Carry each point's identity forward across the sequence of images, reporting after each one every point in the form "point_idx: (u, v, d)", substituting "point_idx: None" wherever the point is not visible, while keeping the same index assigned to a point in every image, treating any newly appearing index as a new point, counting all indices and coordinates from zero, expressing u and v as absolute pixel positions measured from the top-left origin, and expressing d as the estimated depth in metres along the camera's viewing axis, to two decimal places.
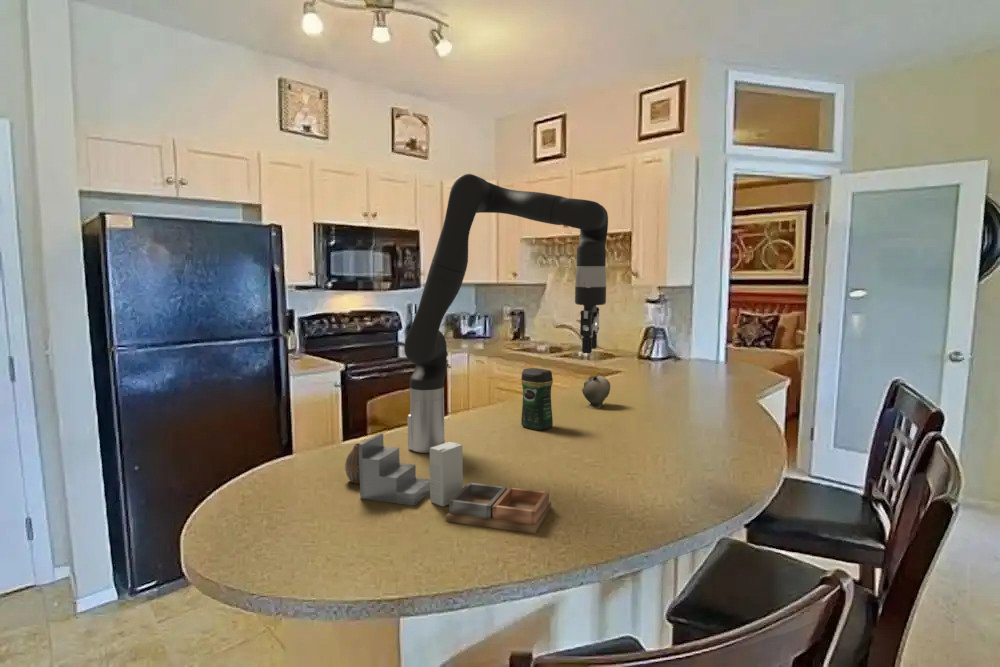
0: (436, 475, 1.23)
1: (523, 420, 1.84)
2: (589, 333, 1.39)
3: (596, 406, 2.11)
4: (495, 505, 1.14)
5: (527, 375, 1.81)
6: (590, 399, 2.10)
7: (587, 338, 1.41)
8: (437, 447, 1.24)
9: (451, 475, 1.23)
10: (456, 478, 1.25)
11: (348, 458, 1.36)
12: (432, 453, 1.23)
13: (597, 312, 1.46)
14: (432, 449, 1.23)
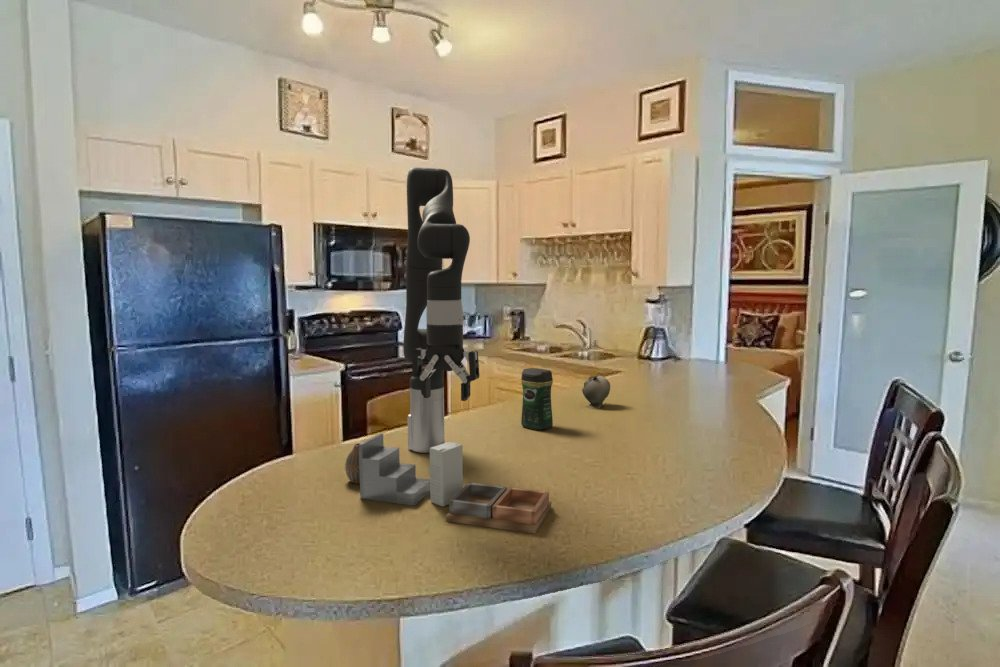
0: (436, 475, 1.23)
1: (523, 420, 1.84)
2: (478, 376, 1.22)
3: (596, 406, 2.11)
4: (495, 505, 1.14)
5: (527, 375, 1.81)
6: (590, 399, 2.10)
7: (469, 382, 1.22)
8: (437, 447, 1.24)
9: (451, 475, 1.23)
10: (456, 478, 1.25)
11: (348, 458, 1.36)
12: (432, 453, 1.23)
13: None
14: (432, 449, 1.23)
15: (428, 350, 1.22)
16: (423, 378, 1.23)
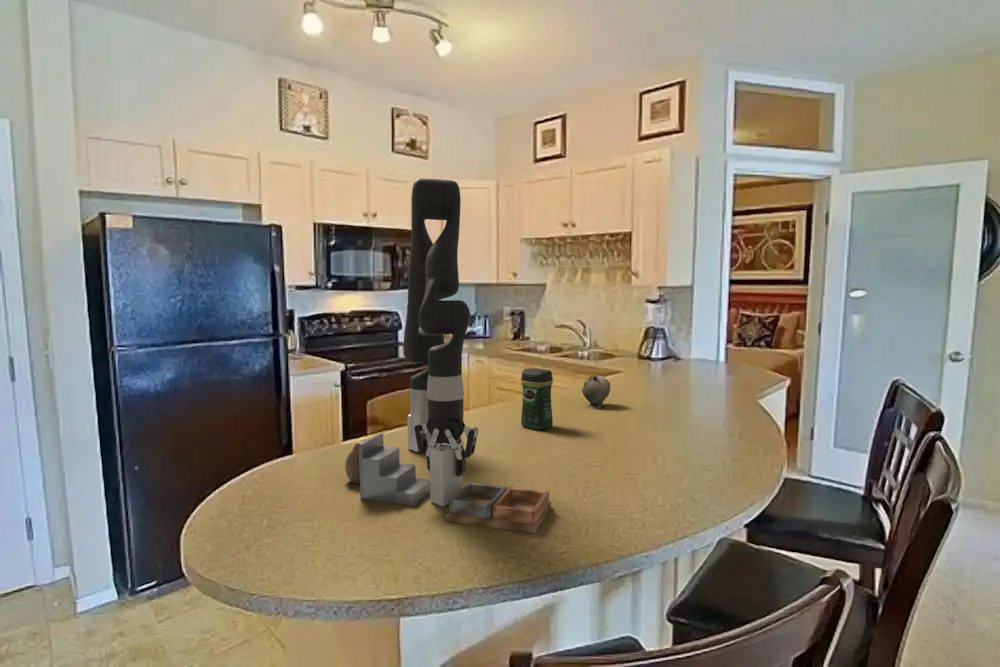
0: (436, 475, 1.23)
1: (523, 420, 1.84)
2: (473, 451, 1.24)
3: (596, 406, 2.11)
4: (495, 505, 1.14)
5: (527, 375, 1.81)
6: (590, 399, 2.10)
7: (464, 458, 1.24)
8: (437, 447, 1.24)
9: (451, 475, 1.23)
10: (456, 478, 1.25)
11: (348, 458, 1.36)
12: (432, 453, 1.23)
13: None
14: (432, 449, 1.23)
15: (428, 423, 1.24)
16: (429, 454, 1.25)
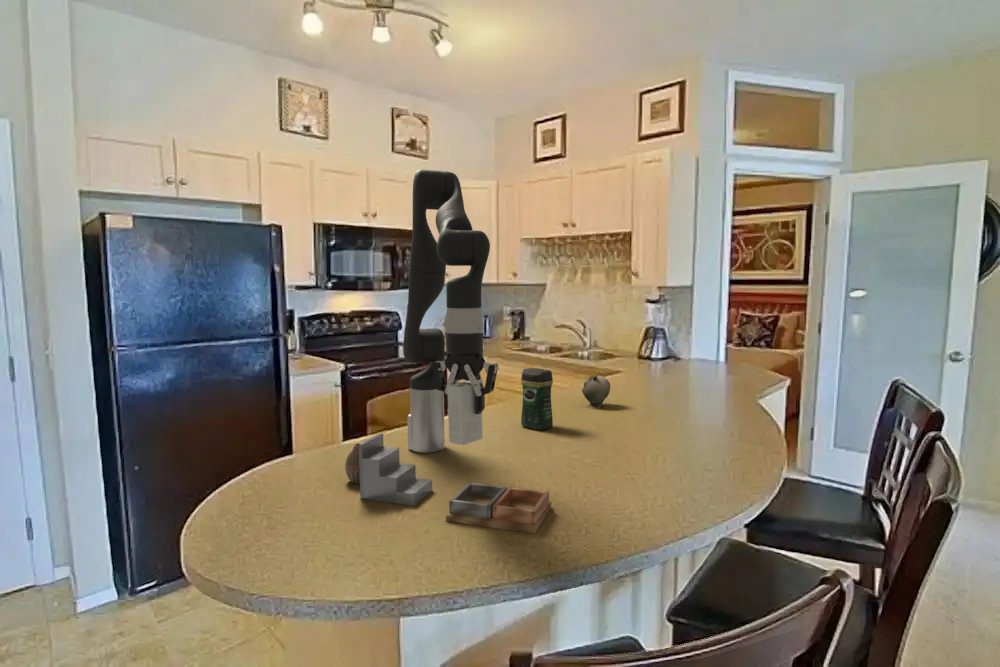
0: (455, 412, 1.18)
1: (523, 420, 1.84)
2: (493, 388, 1.19)
3: (596, 406, 2.11)
4: (495, 505, 1.14)
5: (527, 375, 1.81)
6: (590, 399, 2.10)
7: (484, 395, 1.19)
8: (455, 384, 1.19)
9: (470, 412, 1.19)
10: (475, 416, 1.20)
11: (348, 458, 1.36)
12: (450, 390, 1.19)
13: None
14: (450, 386, 1.19)
15: (447, 359, 1.20)
16: None
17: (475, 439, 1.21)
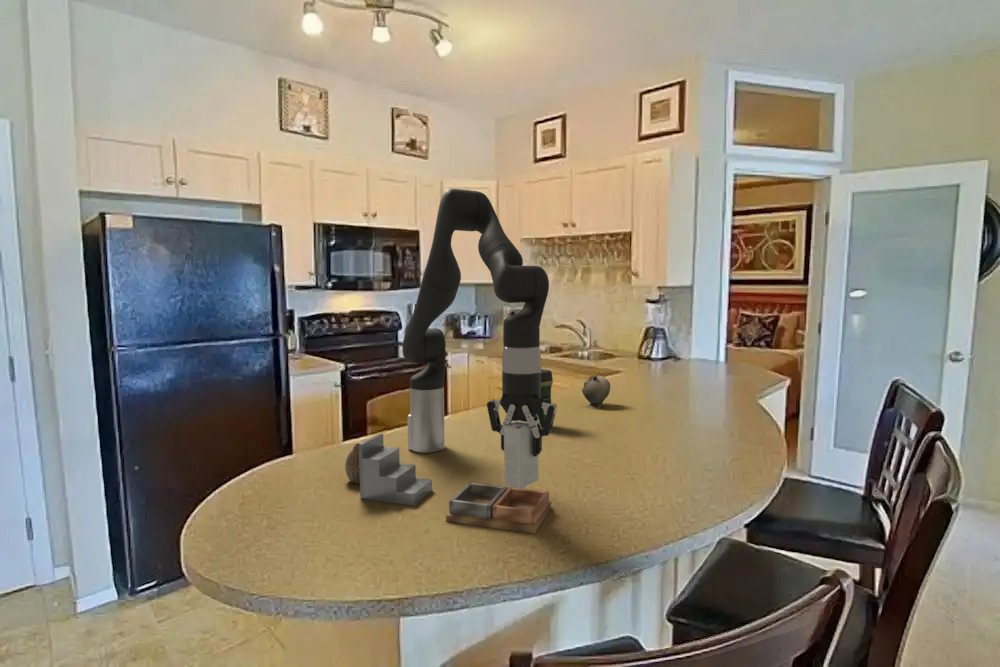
0: (513, 455, 1.14)
1: None
2: (551, 430, 1.15)
3: (596, 406, 2.11)
4: (495, 505, 1.14)
5: None
6: (590, 399, 2.10)
7: (541, 437, 1.15)
8: (512, 425, 1.15)
9: (527, 455, 1.14)
10: (532, 458, 1.16)
11: (348, 458, 1.36)
12: (507, 431, 1.14)
13: None
14: (507, 427, 1.14)
15: (503, 399, 1.15)
16: None
17: (532, 481, 1.16)
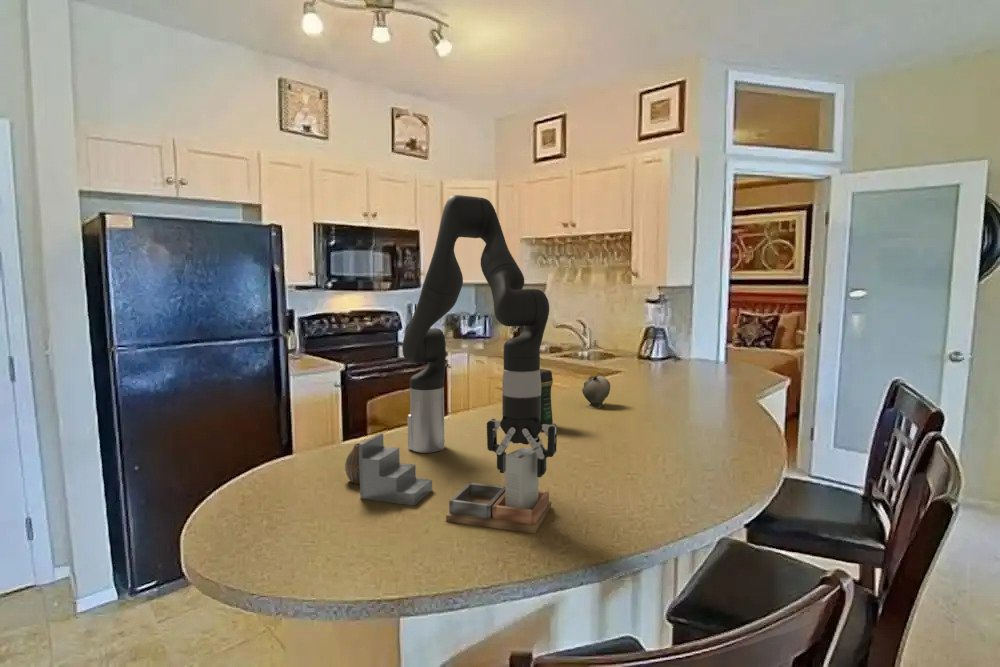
0: (514, 483, 1.14)
1: None
2: (555, 450, 1.15)
3: (596, 406, 2.11)
4: (495, 505, 1.14)
5: None
6: (590, 399, 2.10)
7: None
8: (514, 454, 1.15)
9: (529, 483, 1.15)
10: (533, 486, 1.16)
11: (348, 458, 1.36)
12: (509, 460, 1.14)
13: None
14: (509, 456, 1.14)
15: (503, 422, 1.15)
16: (500, 452, 1.16)
17: (532, 509, 1.17)
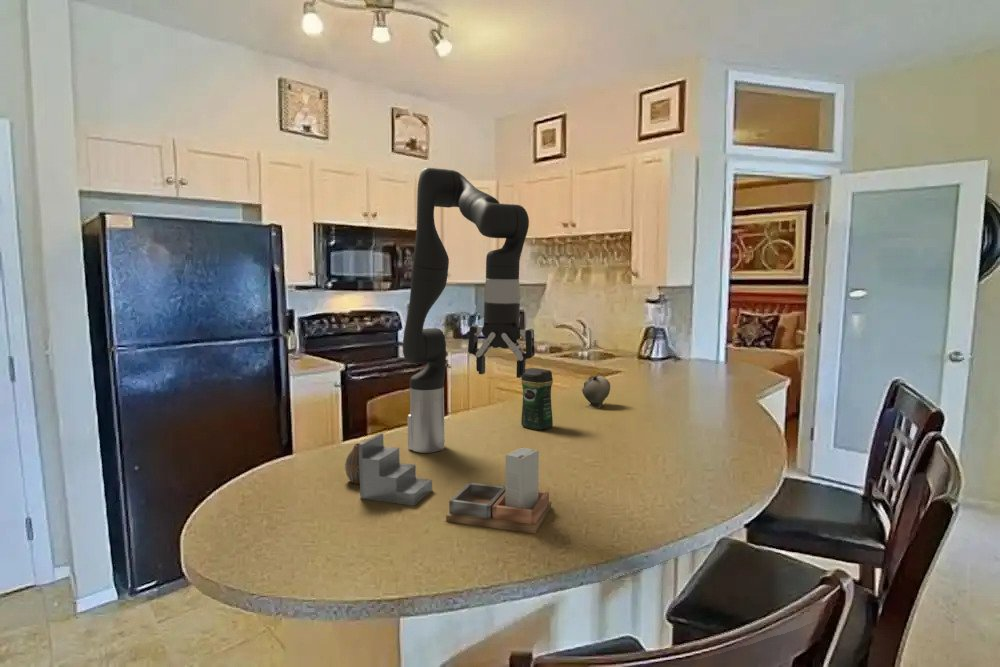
0: (514, 483, 1.14)
1: (523, 420, 1.84)
2: (534, 354, 1.25)
3: (596, 406, 2.11)
4: (495, 505, 1.14)
5: (527, 375, 1.81)
6: (590, 399, 2.10)
7: (525, 360, 1.25)
8: (514, 454, 1.15)
9: (529, 483, 1.15)
10: (533, 486, 1.16)
11: (348, 458, 1.36)
12: (509, 460, 1.14)
13: None
14: (509, 456, 1.14)
15: (485, 327, 1.25)
16: (479, 355, 1.26)
17: (532, 509, 1.17)
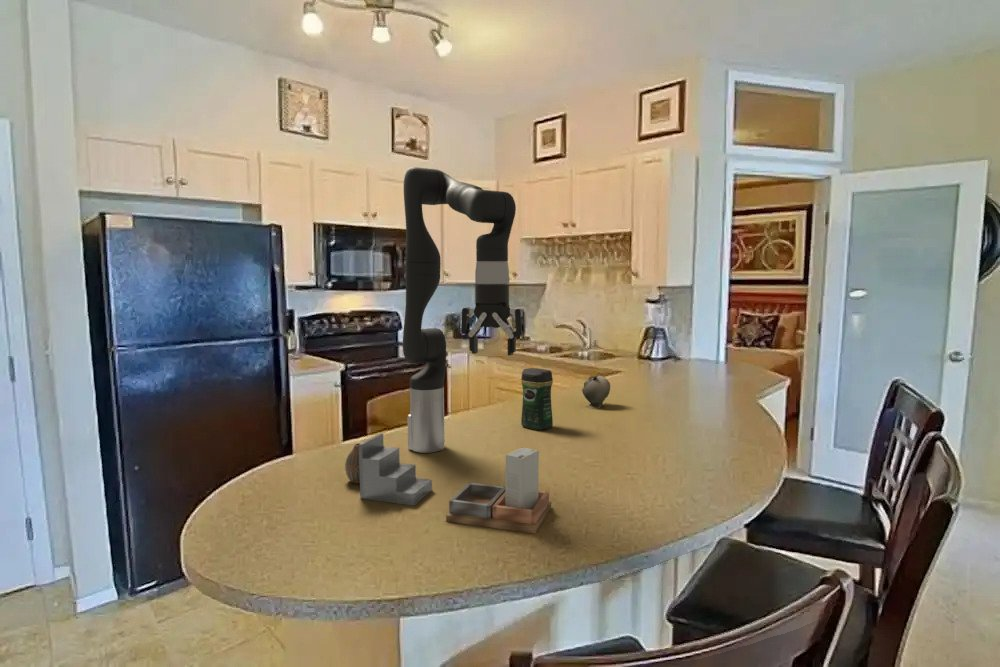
0: (514, 483, 1.14)
1: (523, 420, 1.84)
2: (523, 332, 1.31)
3: (596, 406, 2.11)
4: (495, 505, 1.14)
5: (527, 375, 1.81)
6: (590, 399, 2.10)
7: (515, 338, 1.31)
8: (514, 454, 1.15)
9: (529, 483, 1.15)
10: (533, 486, 1.16)
11: (348, 458, 1.36)
12: (509, 460, 1.14)
13: None
14: (509, 456, 1.14)
15: (476, 308, 1.32)
16: (471, 335, 1.33)
17: (532, 509, 1.17)
